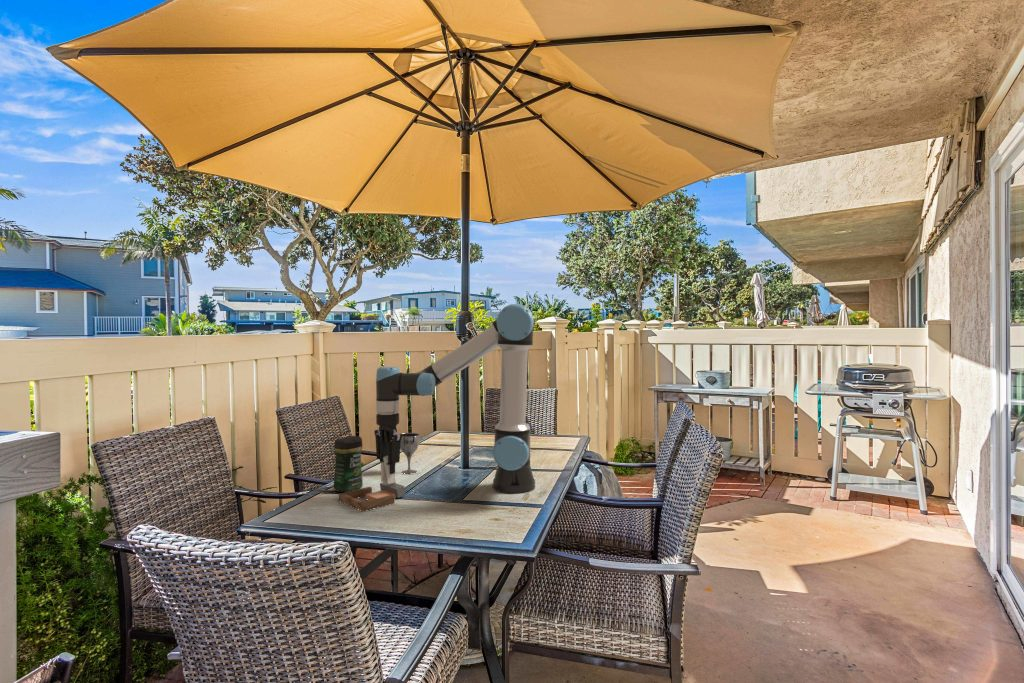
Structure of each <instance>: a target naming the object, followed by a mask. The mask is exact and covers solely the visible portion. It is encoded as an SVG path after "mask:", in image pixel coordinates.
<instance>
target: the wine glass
mask: <svg viewBox="0 0 1024 683" xmlns="http://www.w3.org/2000/svg"><path fill="white" fill-rule="evenodd" d="M401 434H402V438H401V443H400V451H401V452H402V453H403V454H404V455H405V456H406V458H407V469H406V470H401V471H402V472H401V471H400V472H401V473H403V474H404V473H405V474H411V473H416V472H417V471H418V470H416V469H411V460H412V456H413V455H414V453H415V452H416V451H417V450H418V447H419V445H420V433H417V432H402V433H401ZM403 474H402V475H403ZM416 474H417V473H416Z"/></svg>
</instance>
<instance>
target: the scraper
mask: <svg viewBox="0 0 1024 683" xmlns="http://www.w3.org/2000/svg"><path fill="white" fill-rule="evenodd" d="M383 460H384V466H385V472H386V479H387V464H386V463H388V456H385V457H383ZM379 488H380V491H381V490H386V491H388V492H391V493H394V494H396V498H398V499H399V498H401V497H404V496H405V495H406V490H405V486H404V485H402V484H400V483H397V481H396V480H395V483H390V484H387V481H385V482H380V483H379Z"/></svg>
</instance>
